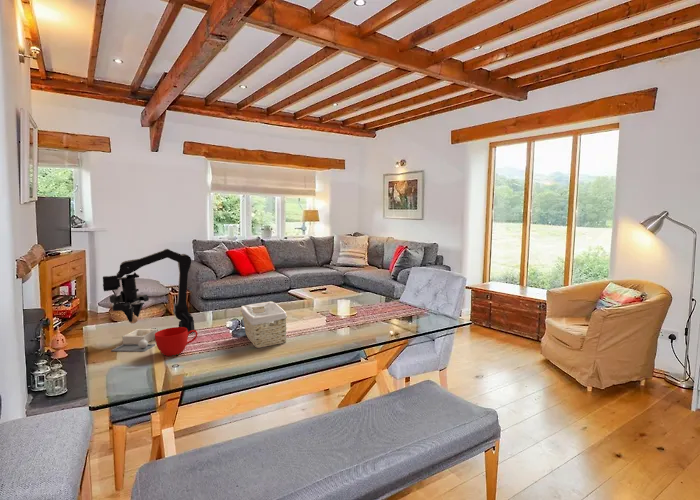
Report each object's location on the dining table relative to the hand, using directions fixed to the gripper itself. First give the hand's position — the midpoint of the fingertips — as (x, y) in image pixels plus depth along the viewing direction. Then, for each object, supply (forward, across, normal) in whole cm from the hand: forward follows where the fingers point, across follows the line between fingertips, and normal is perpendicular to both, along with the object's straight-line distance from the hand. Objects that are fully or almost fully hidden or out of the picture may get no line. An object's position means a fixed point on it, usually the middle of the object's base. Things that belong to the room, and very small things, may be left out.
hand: (133, 320), depth 194 cm
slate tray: (+11, +10, +5) cm, 15 cm away
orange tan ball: (+2, 0, 0) cm, 2 cm away
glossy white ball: (+10, +10, +10) cm, 17 cm away
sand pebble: (+9, -2, +4) cm, 10 cm away
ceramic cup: (+11, +14, +29) cm, 34 cm away
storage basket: (+12, -3, +62) cm, 63 cm away
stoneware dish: (+11, -2, +2) cm, 11 cm away
